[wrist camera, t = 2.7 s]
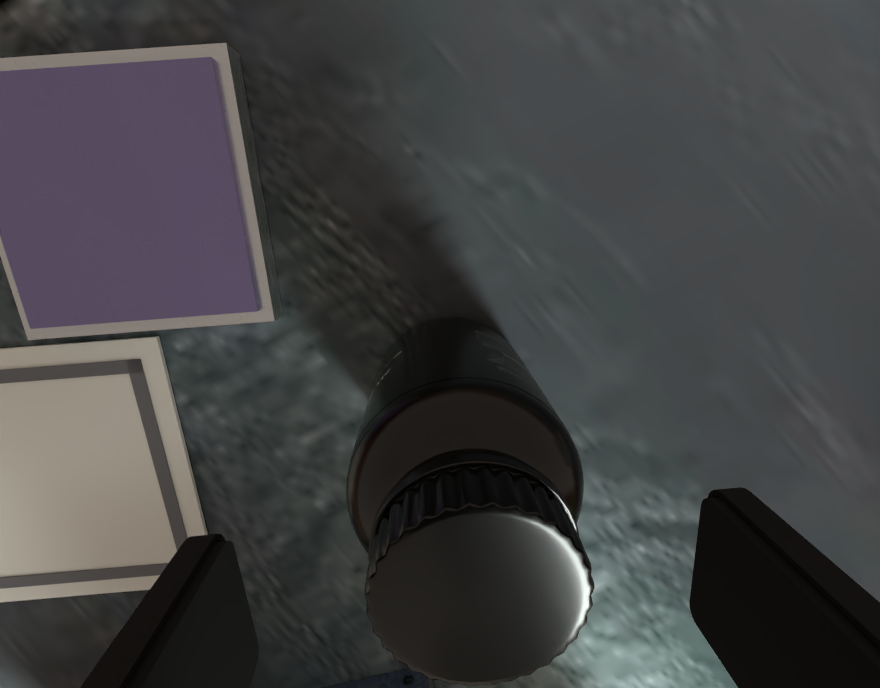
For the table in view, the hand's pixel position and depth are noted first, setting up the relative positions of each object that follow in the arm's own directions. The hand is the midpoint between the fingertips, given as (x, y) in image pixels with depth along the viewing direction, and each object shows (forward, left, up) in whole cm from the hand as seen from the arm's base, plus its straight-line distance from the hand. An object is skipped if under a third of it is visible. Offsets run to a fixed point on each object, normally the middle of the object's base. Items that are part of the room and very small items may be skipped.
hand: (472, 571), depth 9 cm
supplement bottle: (-1, 0, -12) cm, 12 cm away
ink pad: (+8, +12, -12) cm, 19 cm away
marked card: (-4, +19, -12) cm, 23 cm away
